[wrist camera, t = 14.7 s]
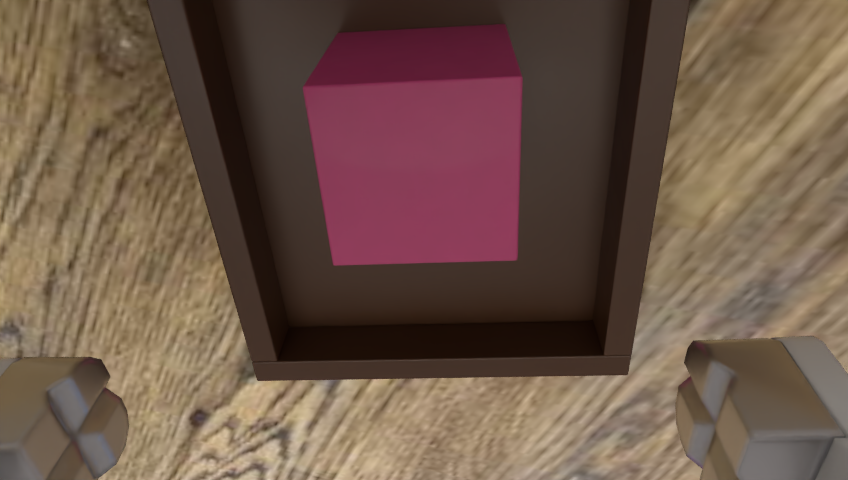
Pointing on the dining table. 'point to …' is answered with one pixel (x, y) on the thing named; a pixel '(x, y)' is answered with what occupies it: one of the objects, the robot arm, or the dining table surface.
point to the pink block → (418, 144)
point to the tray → (450, 281)
